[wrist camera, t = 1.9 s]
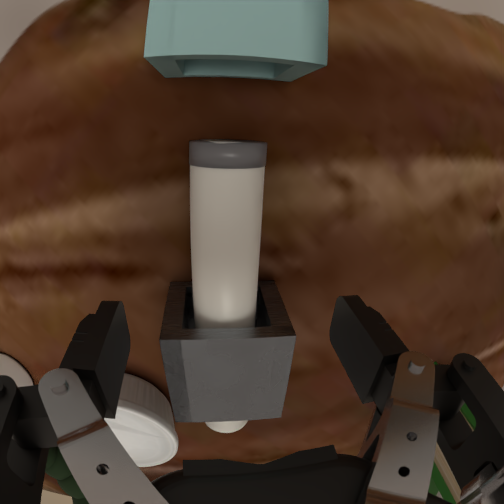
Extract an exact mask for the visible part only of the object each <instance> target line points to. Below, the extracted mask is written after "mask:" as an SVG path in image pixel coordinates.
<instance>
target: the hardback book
mask: <svg viewBox="0 0 504 504" xmlns="http://www.w3.org/2000/svg"><path fill="white" fill-rule="evenodd" d="M434 364H436V365H438V364H437V362H436V361H435V362H434ZM460 412H461V413H462V415H463V416H464V418H465V420H466V421H467V423H468V424H469V426H470V428H471V429H472V431H474V430H475V427H476V420H475V417H474V416H473V414H472V413H471V411H470V410H469V408H468V407H467V405H466V403H464V404H463V406H462V407H461V409H460ZM428 492H429V493H431V494H433V495H435V496H437V497H440V498H442V499H444V500H446V501H448V502H451V503H453V504H457V503H458V502H459V501H460V494H461V490H460V487H459V485H458V483H457V481H456V479H455V477H454V475H453V473H452V471H451V469H450V467H449V465H448V463H447V461H446V459H445V457H444V455H443V453H442V451H441V449H440V447H439V445H438V443H437V442H436V450H435V457H434V463H433V469H432V474H431V479H430V484H429V489H428Z"/></svg>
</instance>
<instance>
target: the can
mask: <svg viewBox="0 0 504 504" xmlns="http://www.w3.org/2000/svg"><path fill="white" fill-rule="evenodd" d="M0 375H6V376H9V377H11V378H12V379H13V380H14V381H15V383H16V385H17V386H18V387H23V386H32V385H33V382H32V379H31V377H30V375H29V373H28V372H27V371H26V369H25V368H24V367H23V366H22V365H21V364H20V363H19V362H17V361H16V360H15V359H13V358H12V357H10V356H8V355H6V354H3V353H0Z"/></svg>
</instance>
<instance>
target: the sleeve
mask: <svg viewBox="0 0 504 504" xmlns="http://www.w3.org/2000/svg"><path fill="white" fill-rule="evenodd" d="M295 340H296V334H295V331H294V329H293V326H292V324H291V321H290V319H289V316H288V314H287V311H286V309H285V306H284V304H283V301H282V298H281V296H280V293H279V291H278V288H277V286H276V283H275V281H274V280H272V281H258V286H257V301H256V316H255V327H248V328H212V329H195V321H194V305H193V286H192V282H170V286H169V291H168V296H167V301H166V306H165V311H164V316H163V322H162V327H161V333H160V339H159V341H160V347H161V353H162V358H163V364H164V369H165V374H166V379H167V384H168V389H169V394H170V399H171V403H172V408H173V412H174V417H175V421H176V422H225V421H244V420H258V419H269V418H279V417H281V414H282V409H283V404H284V399H285V394H286V389H287V384H288V379H289V373H290V368H291V363H292V357H293V351H294V346H295Z"/></svg>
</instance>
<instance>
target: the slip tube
mask: <svg viewBox="0 0 504 504" xmlns="http://www.w3.org/2000/svg"><path fill="white" fill-rule="evenodd" d="M266 155H267V143H266V142H260V141H251V140H232V139H205V140H192V141H189V164H190V231H191V263H192V286H193V305H194V321H195V329H212V328H248V327H255V316H256V301H257V286H258V271H259V255H260V239H261V223H262V207H263V190H264V173H265V166H266ZM247 421H248V420H244V421H225V422H205V423H206V424H207V426H208V427H210V428H211V429H213V430H215V431H217V432H222V433H231V432H235V431H237V430H239V429H241V428H242V427H244V425H245V424H246V423H247Z"/></svg>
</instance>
